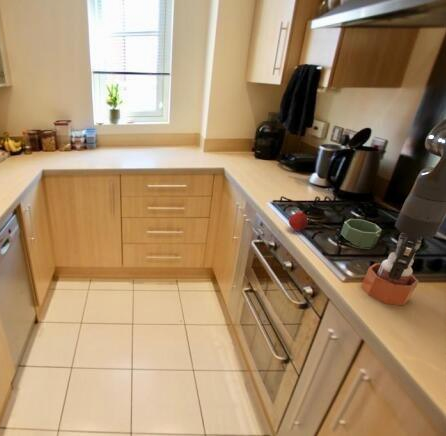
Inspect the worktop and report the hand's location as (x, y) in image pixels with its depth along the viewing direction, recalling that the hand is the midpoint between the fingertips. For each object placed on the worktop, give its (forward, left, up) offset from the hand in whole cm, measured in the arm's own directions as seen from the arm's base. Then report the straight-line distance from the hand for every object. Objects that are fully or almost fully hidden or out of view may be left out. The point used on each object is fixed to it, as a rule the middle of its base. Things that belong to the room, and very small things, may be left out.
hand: (395, 271), depth 81 cm
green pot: (-4, -27, -7) cm, 28 cm away
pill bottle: (0, 0, -7) cm, 7 cm away
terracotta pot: (0, 0, -7) cm, 7 cm away
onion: (+14, -31, -7) cm, 35 cm away
